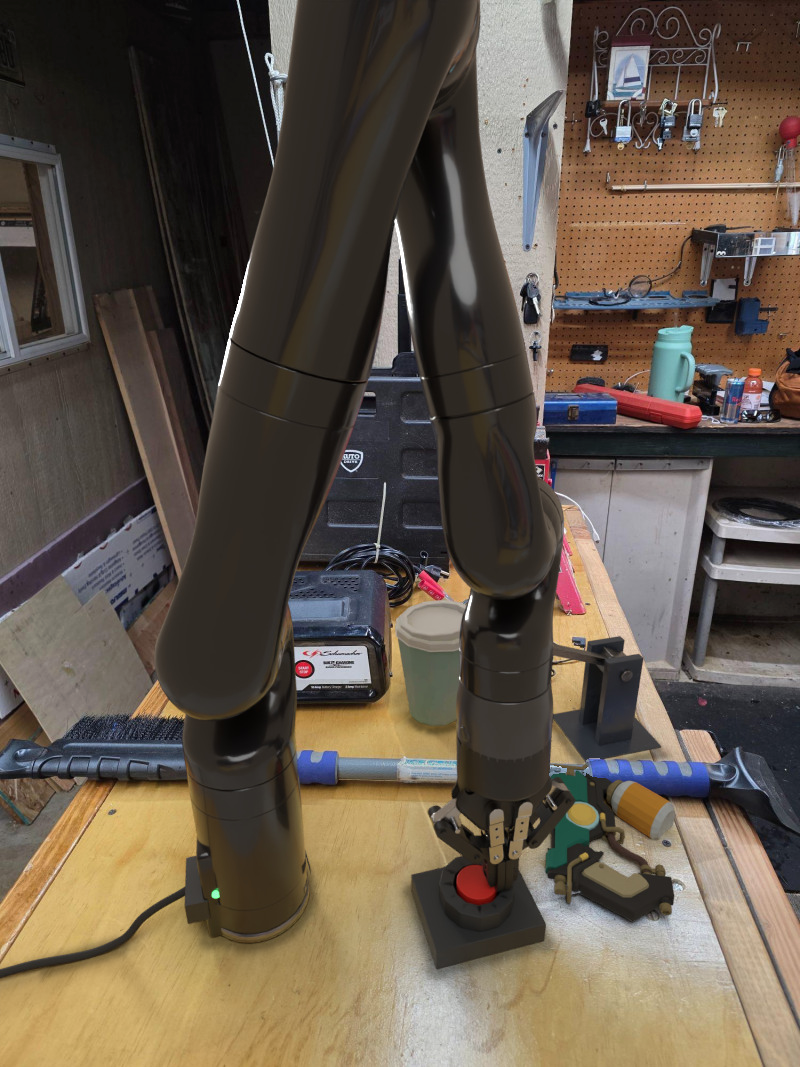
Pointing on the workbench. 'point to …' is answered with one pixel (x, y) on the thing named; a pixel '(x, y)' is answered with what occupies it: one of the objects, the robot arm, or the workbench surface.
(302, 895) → the robot arm
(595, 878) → the spray gun
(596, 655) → the lever
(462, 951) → the control box
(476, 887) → the button
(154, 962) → the workbench surface
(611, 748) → the bracket
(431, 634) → the disposable coffee cup
